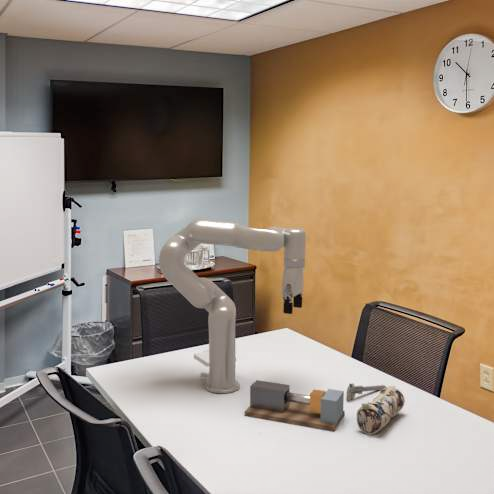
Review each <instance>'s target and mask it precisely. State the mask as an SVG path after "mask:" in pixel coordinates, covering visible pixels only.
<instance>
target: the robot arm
mask: <svg viewBox="0 0 494 494" xmlns="http://www.w3.org/2000/svg"><path fill="white" fill-rule="evenodd" d="M306 233H307V232H306V230H305V229H303V228H298V227H297V228H296V227H290V228H284V227H279V226H270V227H268V228H266V229H264V228H263V229H262V228H254V227H249V226H246V225H243V224H240V223H237V222H235V221H220V220H214V219H209V218H207V217H204V216H202V217H201V216H199V217H196V218H194V219H193V220H192V221H190V223H188V224H187V225H186V226H185V227H183V228H181V230H179V231H178V232H177V233H175V234H174V235H173V236H171V237H170V238H168V240H166V241H165V243H164V244H163V245H162V247H161V250H160V252H159V257H158V266H159V270H160V272H161V274H162V275H163V277H164V278H165V279H166V280H167V282H169V284H171V285H172V286H173V287H174V288H175V289H176V290H177V291H178V292H179V293H180V294H181V295H182V296H183V297H184V298H185V299H186V300H187V301H188V302H189V303H190V304H191V305H192V306H193V307H195V308H198V309H205V310H206V312H207V313H208V321H207V324H208V346H209V347H208V350H209V368H208V370H209V371H208V372H209V373H207V372H200V375H199V377H200V378H199V379H200V380H201V381H206V382H205V384H204V386H205V387H204V388H205V389H206V390H207V391H208V392H210V393H215V394H229V393H234V392H236V391H238V390H239V389H240V387H241V385H240V382H239V381H238V380H236V361H235V357H236V322H237V321H236V318H237V316H236V314H237V309H236V305H235V304H236V303H235V302H234V301H233V300H232V299H231V298H230V297H229V296H228V295H227V294H226V293H225V292H224V291H223V290H222V289H221V288H220V287H219V286H218V285H217V284H216V283H215V282H214V281H212V280H211V279H209V278H207V277H199V275H197V274H196V273H195V272H194V271H193V270H192V269H191V268H190V267H188V266H187V264H185V263H184V259H185V257H186V256H187V255H188V254H189V253H191V252H192V251H193V250H195V249H196V248H197V247H198V246H199V245H201V244H202V245H203V244H206V245H215V246H223V247H224V246H225V247H233V248H236V249H246V250H253V251H259V252H272V253H273V252H278V251H280V250H282V248H283V268H284V269H283V274H282V282H281V283H282V284H281V295H282V296H283V297H282V298H283V309H282V310H283V311H282V312H283V314H289V315H292V314H293V308H299V309H301V308H303V295H304V294H303V291H304V269H305V267H306V265H305V264H306V239H307V238H306V237H307V236H306Z"/></svg>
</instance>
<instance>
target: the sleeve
mask: <svg viewBox="0 0 494 494" xmlns="http://www.w3.org/2000/svg"><path fill="white" fill-rule="evenodd" d="M290 386H291V385H289V384H285V383H277V382H272V381H265V380H260V379H259V380H258V379H257V380H256V381H254V382H253V383H252V384H251V385H250V387H249V388H250V390H249V391H250V392H249V393H250V397H249V404H250V405H249V406H250V407H251V408H257V409H263V410H269V411H275V412H280V413H284V412H285V411H286V410H287V409H288V407H289V402H287V401H285V392H290V388H291V387H290Z"/></svg>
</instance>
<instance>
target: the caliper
mask: <svg viewBox="0 0 494 494" xmlns="http://www.w3.org/2000/svg"><path fill="white" fill-rule="evenodd" d="M348 384H349V385H348V386H347V389H346V402H350V401H354V399H355V396H356V394H358V395H363V392H371V391H381V390H382V389H384V388H387V387H388V386H386V385H384V384H378V385H366V386H364V385H355V383H352V382H351V383H348Z"/></svg>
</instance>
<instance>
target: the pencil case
mask: <svg viewBox="0 0 494 494" xmlns="http://www.w3.org/2000/svg"><path fill="white" fill-rule="evenodd" d="M386 387H387V388H384V389H382V390H380V392H379V393H378V395H377V396H376V397H375V398H373V400H372V401H371V402H370V401H368V402H367V403H366V402H365V403H363V402H362V403H361V405H362V406H360V408H358V410H356V411H357V412H356V423H357V426H358V428H359V430H360V431H361V432H362V433H364V434H366V435H369V436H371V435H375V434H377V433H379V432H380V431H381V430H382V429H383V428H385V426H387V424H389V423H390V422H391V421H392V420H393V418H394V417H395V416H397V414H398V413H399V412H400V411H401V410H402V409H403V408H404V405H405V402H406V400H405V396H404V394H403V393H402V392H401V390H399V389H398V388H395V387H396V386H395V385H388V386H386Z"/></svg>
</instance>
